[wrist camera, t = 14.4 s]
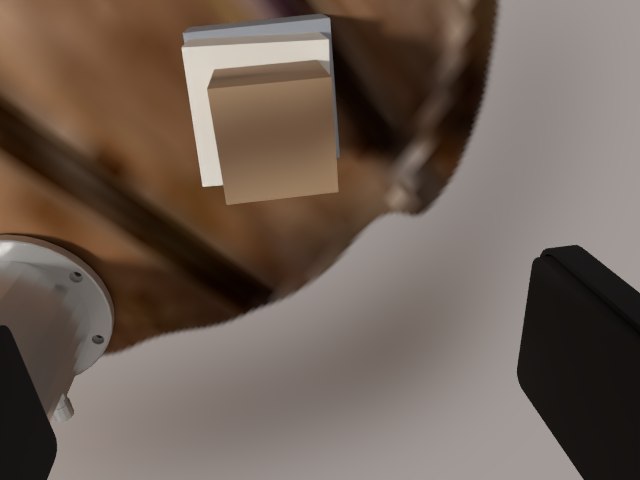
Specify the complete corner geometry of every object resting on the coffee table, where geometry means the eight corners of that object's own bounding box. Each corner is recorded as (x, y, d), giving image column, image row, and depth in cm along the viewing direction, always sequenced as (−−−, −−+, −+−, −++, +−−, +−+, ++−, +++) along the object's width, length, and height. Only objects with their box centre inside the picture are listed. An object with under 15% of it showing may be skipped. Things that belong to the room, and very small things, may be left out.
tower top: (323, 154, 32) (332, 176, 28) (207, 162, 31) (202, 186, 27) (318, 31, 28) (328, 39, 25) (189, 38, 28) (181, 47, 24)
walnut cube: (323, 157, 27) (338, 191, 23) (230, 167, 27) (226, 204, 23) (316, 59, 25) (331, 77, 21) (214, 69, 25) (207, 89, 20)
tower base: (330, 139, 35) (339, 157, 32) (213, 153, 35) (210, 173, 31) (320, 13, 32) (329, 17, 28) (189, 26, 31) (182, 33, 28)
